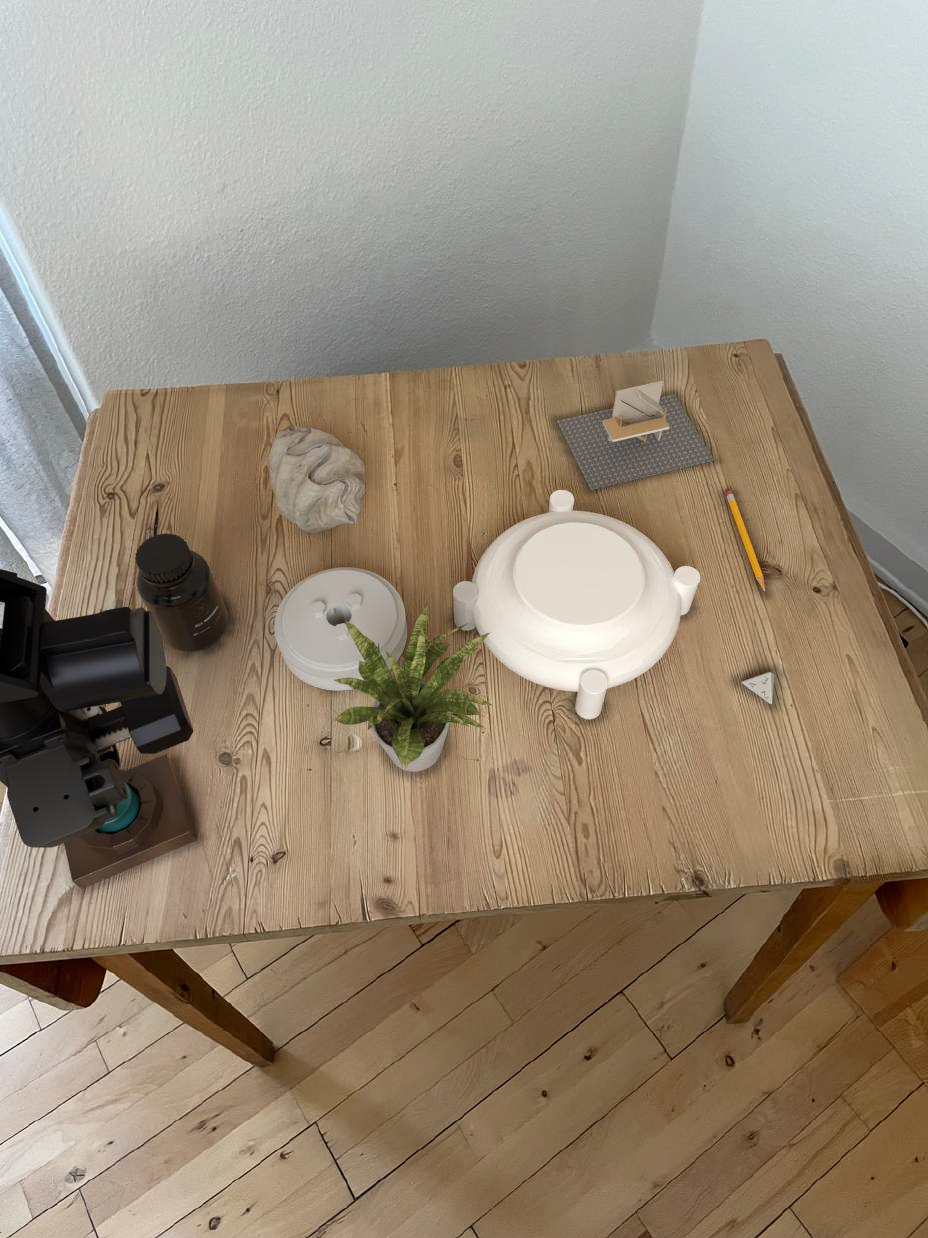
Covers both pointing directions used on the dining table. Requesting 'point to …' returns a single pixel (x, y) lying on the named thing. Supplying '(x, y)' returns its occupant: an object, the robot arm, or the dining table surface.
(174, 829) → the button housing
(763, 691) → the tetrahedral die
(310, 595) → the lid
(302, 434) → the seashell
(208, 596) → the supplement bottle
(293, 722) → the dining table surface
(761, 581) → the pencil
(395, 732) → the house plant
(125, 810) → the press top
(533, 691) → the dining table surface
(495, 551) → the round stand with pegs
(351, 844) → the dining table surface
